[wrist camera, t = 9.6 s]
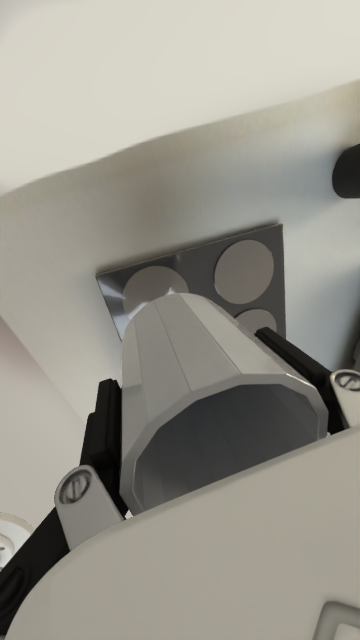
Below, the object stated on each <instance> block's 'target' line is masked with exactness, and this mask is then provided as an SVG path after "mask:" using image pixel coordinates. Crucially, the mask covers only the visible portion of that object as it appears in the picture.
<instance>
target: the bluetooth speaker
mask: <svg viewBox="0 0 360 640" xmlns="http://www.w3.org/2000/svg"><path fill="white" fill-rule="evenodd" d="M353 359H354V360H355V361H356V363H355V366H354V369H353V370H354V371H358V372H360V338H359V340H358V343H357V345H356V348H355V352H354V357H353Z"/></svg>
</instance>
